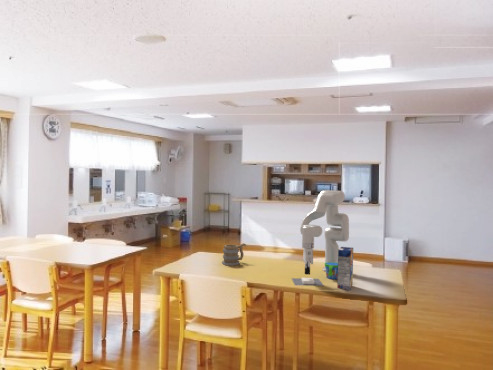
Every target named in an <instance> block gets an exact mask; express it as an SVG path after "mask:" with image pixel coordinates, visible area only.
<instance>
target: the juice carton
mask: <svg viewBox="0 0 493 370" xmlns="http://www.w3.org/2000/svg"><path fill="white" fill-rule="evenodd" d="M353 270H354V247H349V246H348V247H347V246H340V247H339V250H338V279H337V282H336V284H337V286H336V287H337V289H343V290H345V291H351V289H352V288H353V281H354V280H353V277H354V276H353V275H354V274H353V273H354V272H353Z"/></svg>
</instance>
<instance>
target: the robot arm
mask: <svg viewBox="0 0 493 370" xmlns="http://www.w3.org/2000/svg"><path fill="white" fill-rule="evenodd" d="M344 200H345V193H344V192H343V191H342V190H331V189H329V190H328V189H326V190H325V189H324V190H321V191H320V193H319V194H318V195H317V197H316V200H315V204H314V206H313V209H312V211H310V212H309V213H308V214H307V215H305V216H304V218H303V220H302V222H301V226H300V228H299V232H300V234H301V235H302V237H301V238H302V239H301V240H302V241H301V248H302V249H303V252H302V253H303V255H302V256H303V263H304V275H311V265H313V264H314V251H313V250H314V249H315V238H318V237H321V235H322V234H323V228H322V227H321V226H320V225H316V224H310V223H311V222H312V221H315V220H319V219H320V218H323V217H325V215H326V219H325V220H326V224H327V225H328V226H331V227H326V228H325V229H324V240H325V248H324V249H325V251H324V253H325V254H324V264H325V263H327V262H335V263H338V250H339V249H340V247H339V244H338V242H347V241H348V240H349V239H350V223H349V222H350V219H349V216H348V214H346V213H344V212H343V213H340V212H339V205H340V204H342V203H343V202H344ZM322 271H324V272H326V269H325V266H324V267H322Z"/></svg>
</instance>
